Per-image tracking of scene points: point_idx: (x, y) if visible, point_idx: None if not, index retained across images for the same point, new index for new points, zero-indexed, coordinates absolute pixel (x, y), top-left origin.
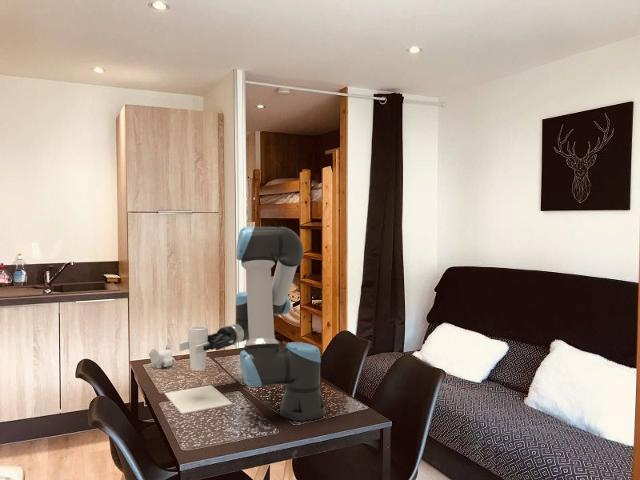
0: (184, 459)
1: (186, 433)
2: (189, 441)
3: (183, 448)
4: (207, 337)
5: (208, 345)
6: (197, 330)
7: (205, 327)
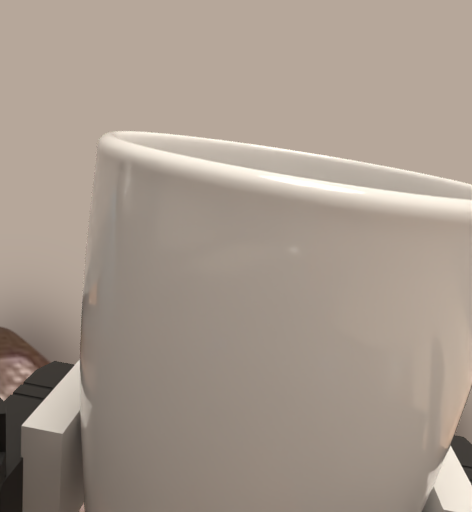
0: (2, 332)
1: None
2: (12, 386)
3: (20, 360)
4: (81, 360)
5: (22, 402)
6: (206, 151)
7: (224, 197)
